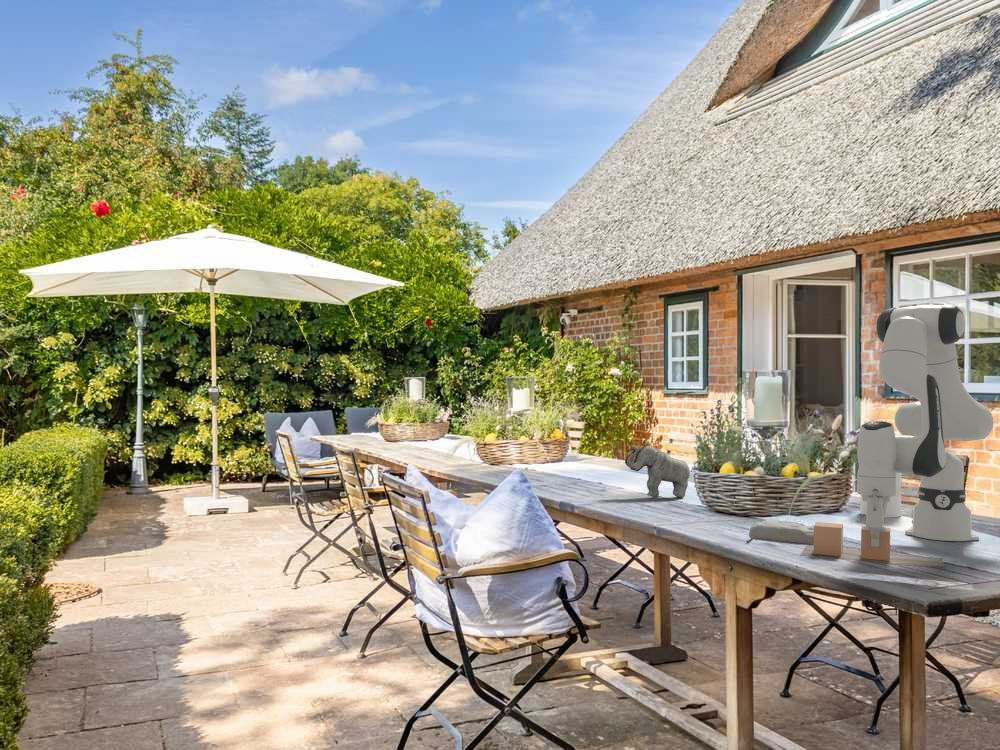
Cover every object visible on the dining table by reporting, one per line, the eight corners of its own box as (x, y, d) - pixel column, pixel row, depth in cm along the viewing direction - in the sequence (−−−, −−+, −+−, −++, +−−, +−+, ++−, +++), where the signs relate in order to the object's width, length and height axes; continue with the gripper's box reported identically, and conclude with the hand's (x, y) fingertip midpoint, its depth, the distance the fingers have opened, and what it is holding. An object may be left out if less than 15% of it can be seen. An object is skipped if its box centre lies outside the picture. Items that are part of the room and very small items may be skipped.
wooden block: (862, 553, 216) (862, 525, 216) (890, 555, 213) (890, 527, 213) (860, 558, 210) (861, 529, 210) (889, 560, 207) (889, 531, 207)
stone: (746, 542, 237) (747, 523, 237) (762, 534, 250) (762, 516, 250) (827, 552, 226) (827, 532, 226) (839, 543, 239) (839, 524, 239)
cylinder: (909, 516, 283) (910, 441, 284) (876, 518, 280) (877, 441, 281) (883, 511, 296) (884, 438, 296) (852, 512, 293) (853, 439, 293)
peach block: (816, 549, 221) (816, 522, 221) (842, 551, 218) (843, 524, 218) (813, 553, 215) (813, 525, 215) (841, 556, 212) (841, 527, 212)
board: (805, 550, 225) (805, 546, 225) (942, 563, 211) (942, 558, 211) (800, 559, 213) (800, 555, 213) (944, 573, 199) (944, 568, 199)
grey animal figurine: (683, 496, 329) (684, 443, 329) (692, 499, 320) (693, 445, 320) (621, 496, 324) (621, 443, 324) (628, 500, 315) (629, 445, 315)
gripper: (889, 493, 201) (888, 552, 201) (890, 484, 220) (890, 537, 219) (860, 491, 204) (859, 549, 204) (864, 482, 222) (863, 535, 222)
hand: (875, 543), depth 212 cm, fingers closed on wooden block, 6 cm apart
